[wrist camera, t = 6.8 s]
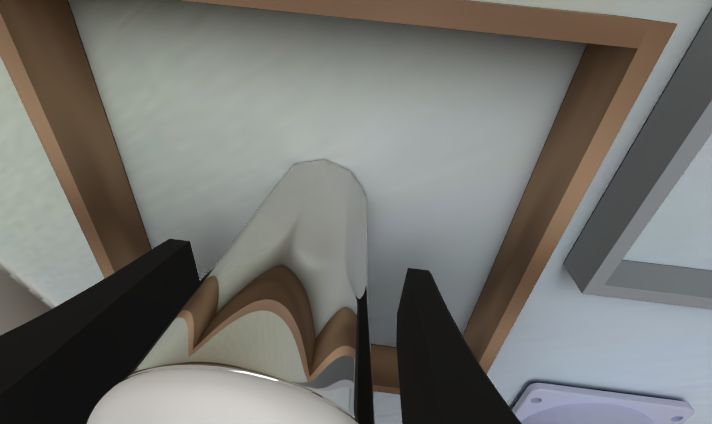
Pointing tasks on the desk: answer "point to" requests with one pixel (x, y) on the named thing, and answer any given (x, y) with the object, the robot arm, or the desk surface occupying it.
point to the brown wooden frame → (377, 3)
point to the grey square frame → (651, 194)
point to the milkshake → (268, 321)
